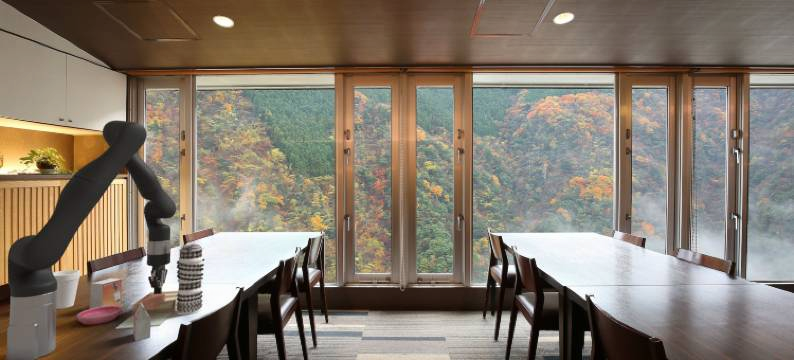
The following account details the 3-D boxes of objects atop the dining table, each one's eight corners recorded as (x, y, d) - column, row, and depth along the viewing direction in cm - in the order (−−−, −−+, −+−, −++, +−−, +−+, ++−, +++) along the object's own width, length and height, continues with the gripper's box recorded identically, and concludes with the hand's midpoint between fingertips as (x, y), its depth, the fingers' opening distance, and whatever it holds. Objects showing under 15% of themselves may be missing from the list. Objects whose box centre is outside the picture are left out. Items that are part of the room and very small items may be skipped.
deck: (172, 313, 133) (172, 302, 133) (132, 316, 130) (132, 305, 130) (185, 300, 148) (185, 290, 148) (150, 302, 145) (150, 292, 145)
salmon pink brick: (153, 309, 126) (153, 303, 126) (134, 310, 125) (134, 303, 125) (165, 299, 135) (165, 293, 135) (147, 300, 134) (147, 294, 134)
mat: (160, 325, 121) (160, 324, 121) (115, 329, 118) (115, 328, 118) (172, 313, 133) (172, 312, 133) (132, 316, 130) (132, 315, 130)
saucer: (66, 325, 121) (66, 316, 121) (102, 312, 133) (102, 304, 133) (97, 328, 119) (97, 318, 119) (130, 314, 131) (130, 306, 131)
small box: (101, 312, 133) (102, 284, 133) (89, 311, 134) (90, 283, 134) (121, 305, 141) (122, 278, 141) (110, 304, 142) (111, 277, 142)
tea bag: (146, 331, 117) (147, 300, 117) (150, 337, 112) (151, 305, 112) (132, 334, 114) (133, 303, 114) (135, 341, 109) (136, 308, 109)
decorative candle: (179, 307, 139) (180, 243, 139) (205, 305, 142) (207, 243, 142) (172, 316, 130) (173, 247, 131) (200, 313, 133) (201, 246, 133)
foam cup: (41, 307, 137) (43, 273, 137) (72, 300, 145) (73, 269, 145) (52, 312, 133) (53, 277, 133) (83, 304, 141) (84, 272, 141)
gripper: (163, 254, 131) (162, 302, 131) (175, 248, 144) (174, 291, 144) (140, 255, 129) (138, 303, 129) (154, 249, 142) (153, 292, 142)
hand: (157, 297), depth 136 cm, fingers closed
